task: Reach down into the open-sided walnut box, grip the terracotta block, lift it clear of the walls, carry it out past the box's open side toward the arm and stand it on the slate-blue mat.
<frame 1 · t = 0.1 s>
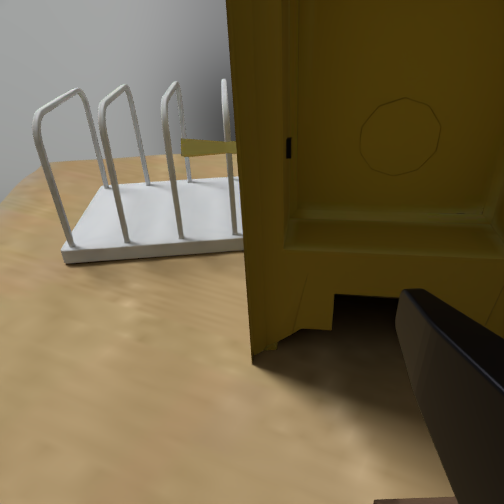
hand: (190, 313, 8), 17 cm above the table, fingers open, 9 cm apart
file sorter: (188, 221, 50), on the table
vintage telephone: (386, 313, 33), on the table
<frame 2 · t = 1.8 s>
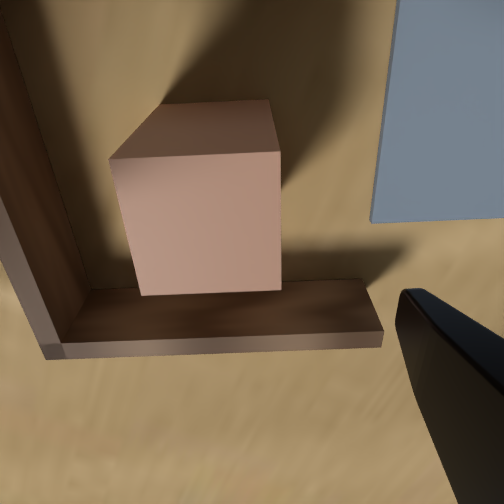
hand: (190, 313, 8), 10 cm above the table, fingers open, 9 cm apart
terracotta block: (218, 155, 17), on the table
open box: (218, 155, 17), on the table
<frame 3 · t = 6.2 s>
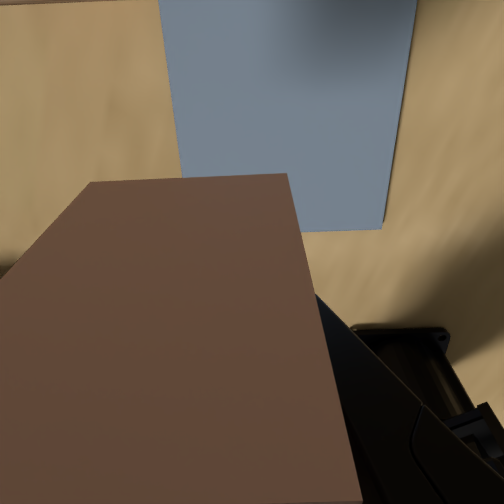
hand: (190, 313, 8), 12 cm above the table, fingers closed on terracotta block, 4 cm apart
terracotta block: (199, 260, 10), point 10 cm above the table, touching gripper
open box: (40, 174, 19), on the table
slate mat: (286, 100, 17), on the table
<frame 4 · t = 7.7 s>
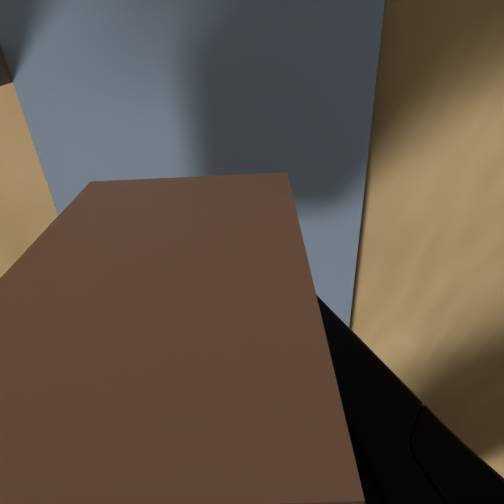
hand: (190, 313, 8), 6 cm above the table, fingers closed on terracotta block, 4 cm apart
terracotta block: (199, 259, 10), point 4 cm above the table, touching gripper
slate mat: (210, 200, 13), on the table
when the fingers open (4 cm above the table, at t = 8.8 s): terracotta block drops 1 cm, resting on slate mat.
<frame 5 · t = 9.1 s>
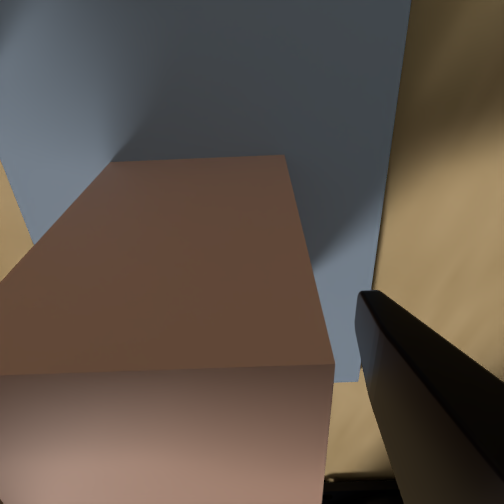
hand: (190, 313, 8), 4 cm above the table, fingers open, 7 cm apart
terracotta block: (205, 234, 11), resting on slate mat
slate mat: (206, 228, 12), on the table
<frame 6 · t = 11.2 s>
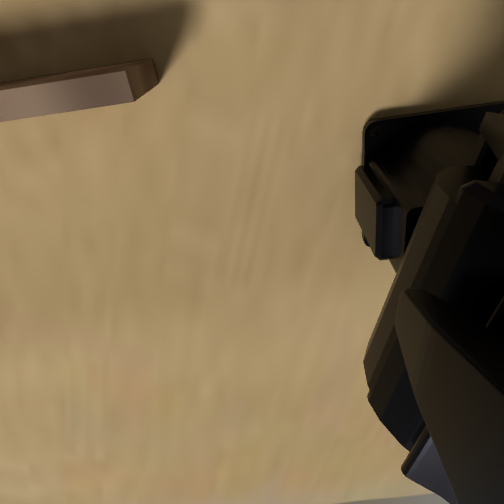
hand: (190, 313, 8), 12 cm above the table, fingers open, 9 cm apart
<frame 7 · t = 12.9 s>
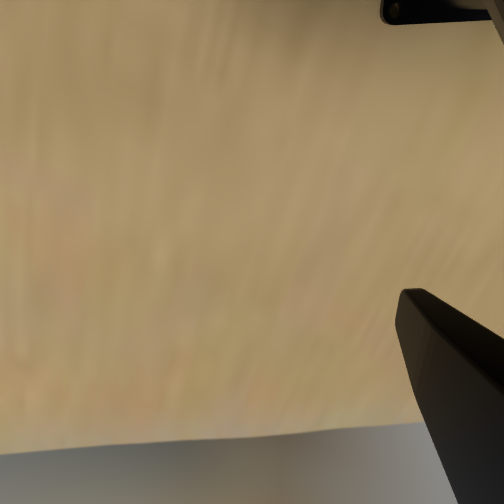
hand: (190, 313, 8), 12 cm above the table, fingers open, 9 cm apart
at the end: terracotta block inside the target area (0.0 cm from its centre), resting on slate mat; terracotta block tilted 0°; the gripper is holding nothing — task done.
